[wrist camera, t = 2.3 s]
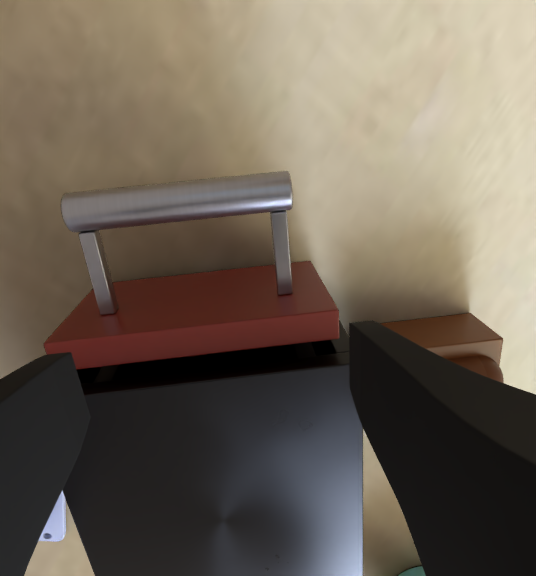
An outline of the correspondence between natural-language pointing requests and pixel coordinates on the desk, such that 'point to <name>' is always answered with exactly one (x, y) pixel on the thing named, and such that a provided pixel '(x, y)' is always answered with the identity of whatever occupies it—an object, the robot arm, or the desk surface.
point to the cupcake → (414, 572)
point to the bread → (456, 341)
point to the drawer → (192, 287)
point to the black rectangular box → (223, 470)
